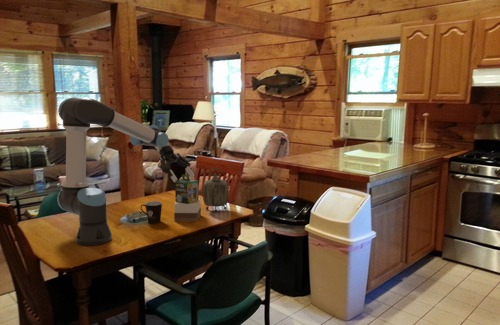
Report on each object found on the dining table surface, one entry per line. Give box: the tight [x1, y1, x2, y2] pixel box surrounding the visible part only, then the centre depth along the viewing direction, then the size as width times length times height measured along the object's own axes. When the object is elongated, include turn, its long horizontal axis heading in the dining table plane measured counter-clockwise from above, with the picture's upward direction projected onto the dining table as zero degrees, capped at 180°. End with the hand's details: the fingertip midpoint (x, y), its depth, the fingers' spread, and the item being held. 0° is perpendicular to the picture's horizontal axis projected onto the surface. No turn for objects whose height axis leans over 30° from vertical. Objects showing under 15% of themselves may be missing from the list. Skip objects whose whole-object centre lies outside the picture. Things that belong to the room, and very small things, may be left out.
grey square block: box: [173, 206, 202, 223], centre depth 211 cm, size 12×12×5 cm
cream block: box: [174, 198, 201, 213], centre depth 211 cm, size 12×12×5 cm
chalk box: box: [174, 174, 200, 204], centre depth 208 cm, size 9×9×15 cm
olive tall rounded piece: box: [202, 168, 229, 213], centre depth 223 cm, size 14×9×25 cm, turn 92°
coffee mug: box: [139, 200, 163, 224], centre depth 205 cm, size 12×9×10 cm
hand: (184, 178), depth 210 cm, fingers open, 13 cm apart
